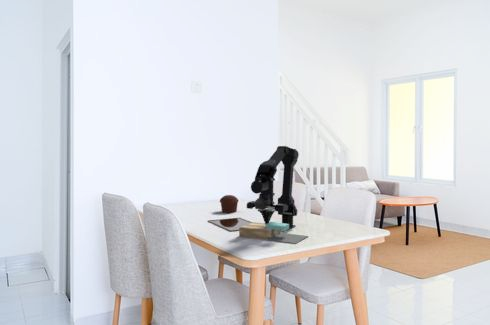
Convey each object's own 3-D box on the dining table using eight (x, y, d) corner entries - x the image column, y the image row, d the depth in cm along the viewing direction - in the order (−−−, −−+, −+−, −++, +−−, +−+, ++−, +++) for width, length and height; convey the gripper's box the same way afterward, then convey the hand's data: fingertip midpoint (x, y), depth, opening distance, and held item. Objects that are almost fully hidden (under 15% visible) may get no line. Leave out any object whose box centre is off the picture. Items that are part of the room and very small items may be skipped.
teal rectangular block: (271, 226, 196) (271, 221, 196) (289, 228, 192) (289, 223, 192) (265, 228, 191) (265, 224, 191) (284, 230, 187) (284, 226, 187)
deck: (253, 230, 206) (253, 222, 205) (279, 233, 199) (280, 225, 199) (239, 236, 194) (239, 227, 193) (266, 239, 187) (266, 230, 186)
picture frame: (264, 228, 212) (239, 219, 236) (264, 226, 212) (239, 217, 236) (230, 232, 203) (207, 222, 228) (230, 230, 203) (207, 220, 227)
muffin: (237, 210, 264) (237, 194, 264) (239, 213, 253) (239, 196, 253) (218, 210, 263) (218, 194, 262) (220, 213, 252) (220, 196, 251)
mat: (281, 233, 199) (281, 232, 199) (308, 236, 192) (308, 236, 192) (267, 240, 186) (267, 239, 186) (295, 244, 179) (295, 243, 179)
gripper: (240, 191, 191) (240, 225, 192) (277, 194, 182) (277, 230, 182) (252, 189, 200) (252, 221, 201) (288, 191, 191) (288, 226, 192)
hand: (266, 224), depth 194 cm, fingers closed
